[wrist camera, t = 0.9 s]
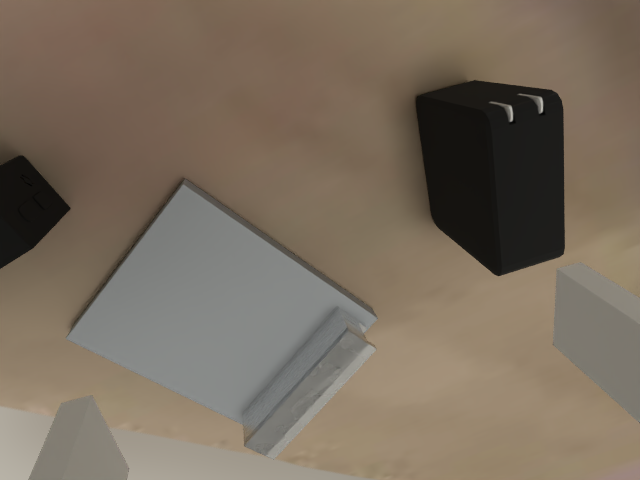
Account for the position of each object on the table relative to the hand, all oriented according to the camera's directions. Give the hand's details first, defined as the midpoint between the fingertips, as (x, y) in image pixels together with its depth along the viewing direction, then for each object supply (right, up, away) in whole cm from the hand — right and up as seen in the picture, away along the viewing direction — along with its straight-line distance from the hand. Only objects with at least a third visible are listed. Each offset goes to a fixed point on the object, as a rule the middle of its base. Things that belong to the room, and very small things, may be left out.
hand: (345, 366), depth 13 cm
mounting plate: (-8, -2, +23) cm, 24 cm away
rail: (-2, -7, +24) cm, 25 cm away
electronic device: (+9, +10, +22) cm, 25 cm away
